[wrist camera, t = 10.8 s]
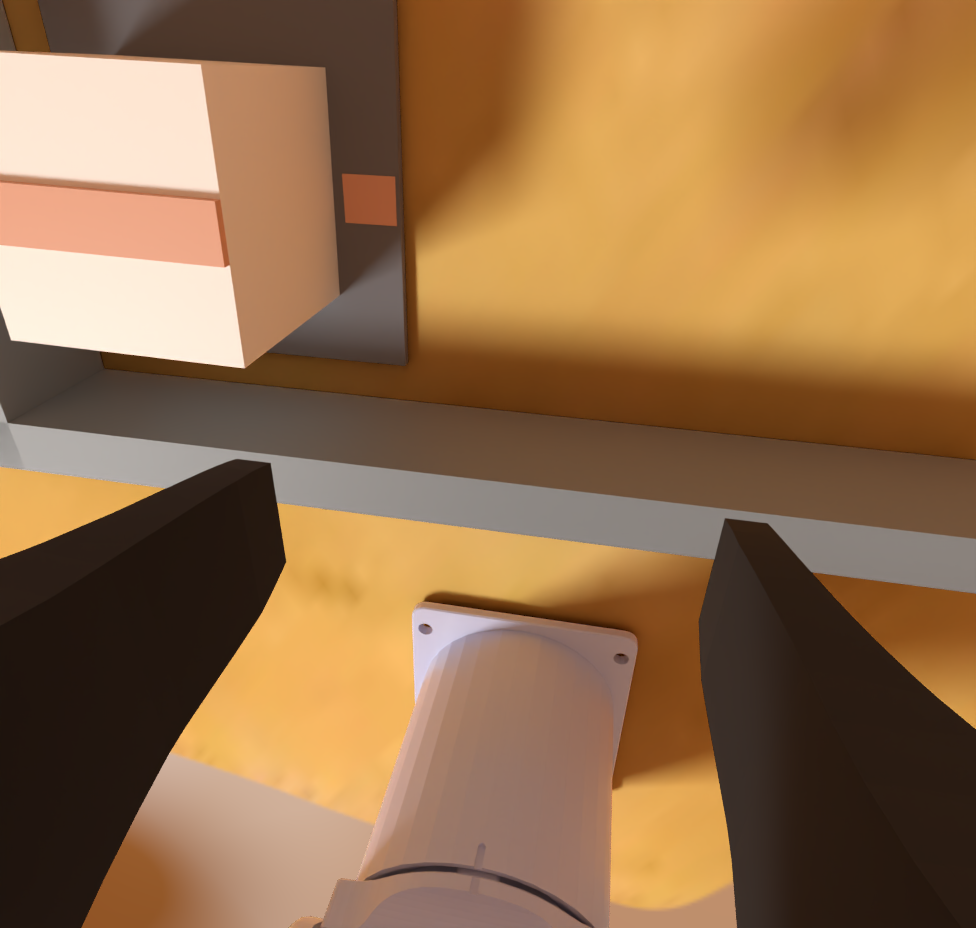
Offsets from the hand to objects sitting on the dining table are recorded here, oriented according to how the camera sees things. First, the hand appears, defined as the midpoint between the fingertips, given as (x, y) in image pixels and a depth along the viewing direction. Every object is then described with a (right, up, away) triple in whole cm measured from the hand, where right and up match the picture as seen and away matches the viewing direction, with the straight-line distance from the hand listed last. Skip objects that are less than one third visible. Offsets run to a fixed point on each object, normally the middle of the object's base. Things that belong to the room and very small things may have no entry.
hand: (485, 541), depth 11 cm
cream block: (-7, +9, +7) cm, 13 cm away
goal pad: (-7, +9, +7) cm, 13 cm away
